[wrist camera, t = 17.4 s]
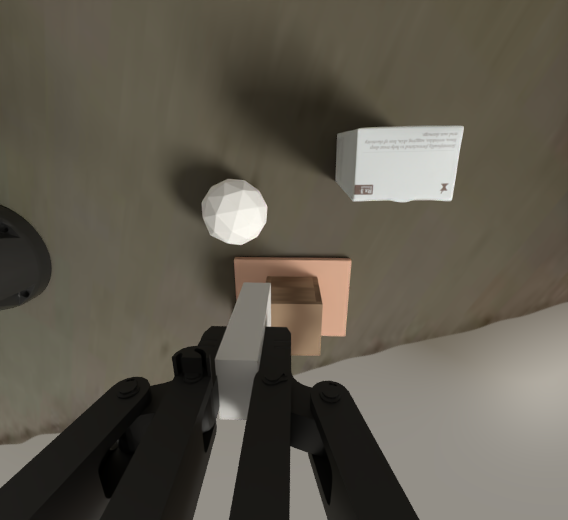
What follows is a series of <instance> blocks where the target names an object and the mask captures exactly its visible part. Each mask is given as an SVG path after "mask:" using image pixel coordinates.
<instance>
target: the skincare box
mask: <svg viewBox="0 0 568 520" xmlns="http://www.w3.org/2000/svg"><path fill="white" fill-rule="evenodd" d="M463 130H464V127H463V126H395V127H368V128H358V129H355V130H352V131H346V132H342V133H339V134H337V154H336V179H335V181H336V182H337V183H338V184H339V186H340V187H341V188H342V189H343V190H344V191H345V193H346V194H347V195H348V196H349V197H350V199H351V200H352V201H381V200H392V201H395V202H408V201H411V200H438V201H451V200H452V197H453V189H454V184H455V178H456V172H457V165H458V158H459V152H460V146H461V141H462V135H463Z"/></svg>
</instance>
